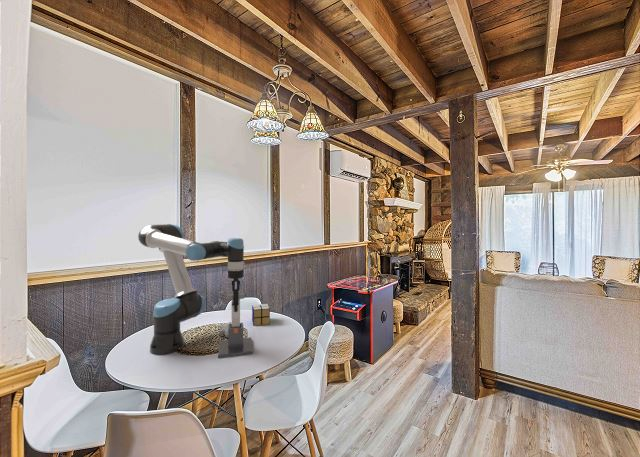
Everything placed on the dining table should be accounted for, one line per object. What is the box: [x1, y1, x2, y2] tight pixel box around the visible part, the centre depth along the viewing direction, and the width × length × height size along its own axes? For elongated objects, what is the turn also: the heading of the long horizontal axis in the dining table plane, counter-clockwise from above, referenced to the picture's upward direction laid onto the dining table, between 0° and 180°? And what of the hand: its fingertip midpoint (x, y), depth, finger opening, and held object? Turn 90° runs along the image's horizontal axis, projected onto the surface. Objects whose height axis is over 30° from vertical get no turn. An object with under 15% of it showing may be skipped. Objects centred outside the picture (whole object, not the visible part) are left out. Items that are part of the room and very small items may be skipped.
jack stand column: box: [226, 292, 245, 328], centre depth 143 cm, size 8×4×22 cm, turn 106°
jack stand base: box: [217, 322, 254, 359], centre depth 143 cm, size 16×16×12 cm
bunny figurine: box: [217, 321, 232, 339], centre depth 162 cm, size 10×5×15 cm
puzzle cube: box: [251, 303, 271, 327], centre depth 179 cm, size 10×10×10 cm
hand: (235, 315), depth 143 cm, fingers closed on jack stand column, 4 cm apart
